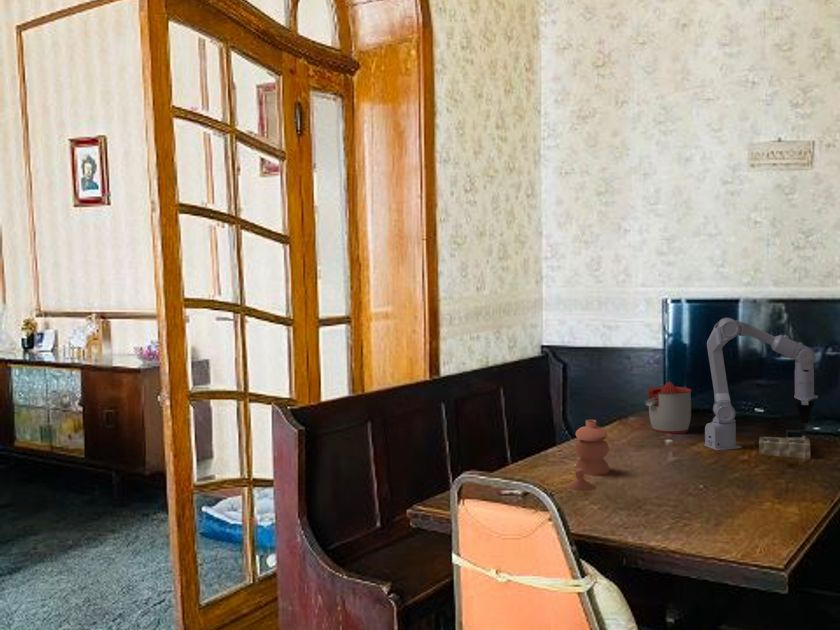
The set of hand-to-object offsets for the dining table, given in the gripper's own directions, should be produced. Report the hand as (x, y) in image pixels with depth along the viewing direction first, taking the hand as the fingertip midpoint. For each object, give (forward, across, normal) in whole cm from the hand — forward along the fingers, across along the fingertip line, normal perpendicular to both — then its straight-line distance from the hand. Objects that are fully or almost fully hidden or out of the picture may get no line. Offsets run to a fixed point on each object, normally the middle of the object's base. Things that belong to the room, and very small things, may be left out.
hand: (804, 422), depth 259 cm
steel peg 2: (+10, -7, +2) cm, 12 cm away
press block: (+10, -7, +6) cm, 13 cm away
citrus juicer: (+10, +16, +46) cm, 50 cm away
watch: (+7, +9, +3) cm, 12 cm away
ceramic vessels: (+10, -68, +58) cm, 90 cm away
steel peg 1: (+10, -7, +10) cm, 16 cm away
